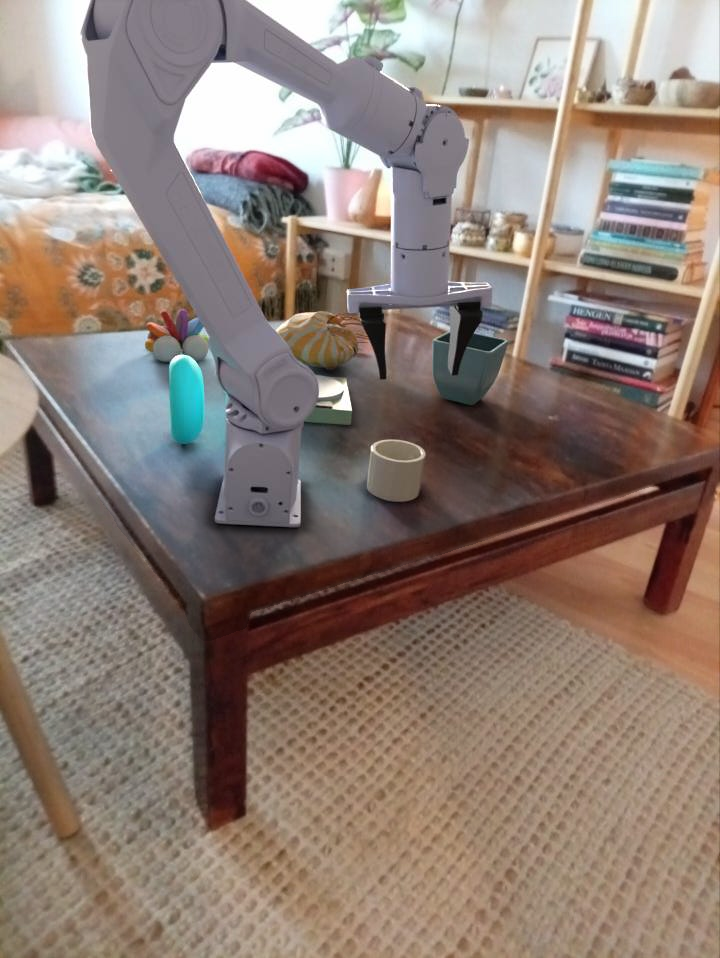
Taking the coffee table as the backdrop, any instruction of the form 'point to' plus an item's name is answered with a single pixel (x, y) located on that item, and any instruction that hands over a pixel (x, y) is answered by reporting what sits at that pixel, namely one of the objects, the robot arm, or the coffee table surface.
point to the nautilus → (320, 339)
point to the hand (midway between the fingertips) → (417, 373)
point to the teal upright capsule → (186, 399)
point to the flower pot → (468, 367)
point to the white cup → (395, 470)
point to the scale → (332, 402)
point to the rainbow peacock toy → (177, 338)
